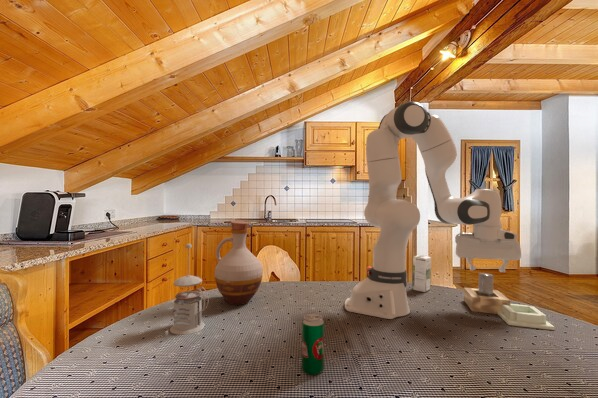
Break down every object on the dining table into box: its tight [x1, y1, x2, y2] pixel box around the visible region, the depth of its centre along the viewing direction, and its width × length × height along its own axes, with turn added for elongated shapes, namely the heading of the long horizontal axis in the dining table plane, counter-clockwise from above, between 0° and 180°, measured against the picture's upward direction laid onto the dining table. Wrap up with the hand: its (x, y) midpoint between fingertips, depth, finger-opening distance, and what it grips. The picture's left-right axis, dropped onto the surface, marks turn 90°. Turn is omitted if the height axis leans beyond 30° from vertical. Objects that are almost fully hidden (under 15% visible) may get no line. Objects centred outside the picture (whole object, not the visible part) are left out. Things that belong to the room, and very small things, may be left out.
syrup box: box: [411, 254, 432, 293], centre depth 127 cm, size 6×6×14 cm
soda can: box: [301, 313, 325, 376], centre depth 67 cm, size 5×5×12 cm
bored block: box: [463, 287, 511, 315], centre depth 107 cm, size 12×12×5 cm
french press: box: [169, 243, 210, 336], centre depth 87 cm, size 10×12×25 cm
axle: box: [477, 272, 494, 297], centre depth 107 cm, size 4×4×12 cm
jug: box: [214, 220, 264, 306], centre depth 111 cm, size 20×18×30 cm
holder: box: [497, 303, 555, 331], centre depth 96 cm, size 12×12×4 cm
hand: (487, 271), depth 107 cm, fingers open, 8 cm apart
